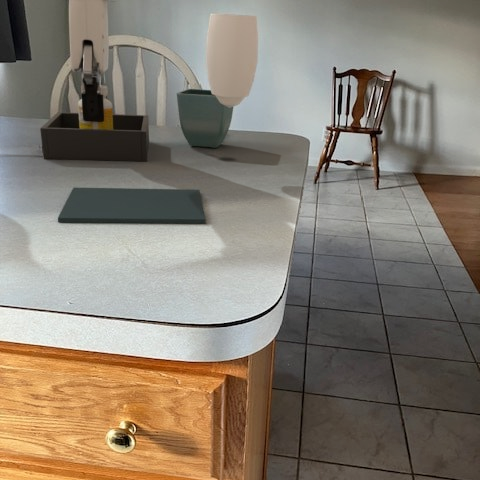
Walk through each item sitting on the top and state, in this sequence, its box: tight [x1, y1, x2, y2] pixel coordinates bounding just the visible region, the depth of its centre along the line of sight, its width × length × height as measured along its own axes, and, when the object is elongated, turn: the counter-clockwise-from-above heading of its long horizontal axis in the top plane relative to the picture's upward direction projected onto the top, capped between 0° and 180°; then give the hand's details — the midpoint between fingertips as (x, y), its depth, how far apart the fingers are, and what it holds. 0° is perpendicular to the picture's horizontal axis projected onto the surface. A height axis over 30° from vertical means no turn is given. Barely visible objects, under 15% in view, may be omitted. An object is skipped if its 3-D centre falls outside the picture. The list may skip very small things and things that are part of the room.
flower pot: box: [176, 88, 234, 149], centre depth 96 cm, size 9×9×9 cm
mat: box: [57, 187, 207, 225], centre depth 65 cm, size 16×12×1 cm
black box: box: [39, 111, 150, 162], centre depth 90 cm, size 16×16×4 cm
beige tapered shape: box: [205, 12, 259, 108], centre depth 78 cm, size 7×7×21 cm
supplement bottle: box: [77, 84, 114, 130], centre depth 88 cm, size 5×5×10 cm
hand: (95, 116), depth 88 cm, fingers closed on supplement bottle, 5 cm apart
